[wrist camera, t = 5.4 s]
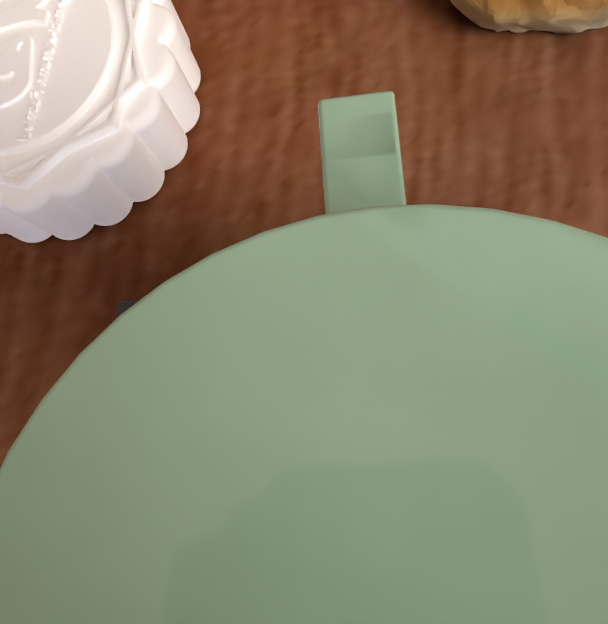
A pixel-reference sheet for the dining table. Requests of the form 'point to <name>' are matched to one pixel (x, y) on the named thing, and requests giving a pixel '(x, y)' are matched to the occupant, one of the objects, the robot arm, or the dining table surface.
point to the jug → (332, 424)
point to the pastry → (536, 14)
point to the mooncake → (89, 111)
